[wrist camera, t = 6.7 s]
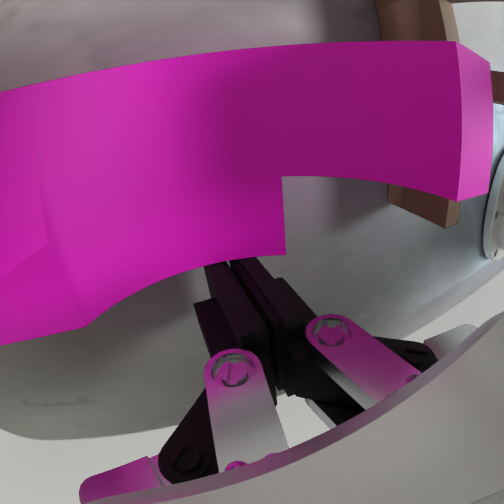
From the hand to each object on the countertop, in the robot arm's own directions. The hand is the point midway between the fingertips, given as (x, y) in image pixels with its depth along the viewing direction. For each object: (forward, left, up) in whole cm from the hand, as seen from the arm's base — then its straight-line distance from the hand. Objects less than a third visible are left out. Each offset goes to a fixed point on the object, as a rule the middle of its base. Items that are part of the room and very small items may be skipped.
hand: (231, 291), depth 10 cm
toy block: (+1, -5, -3) cm, 6 cm away
